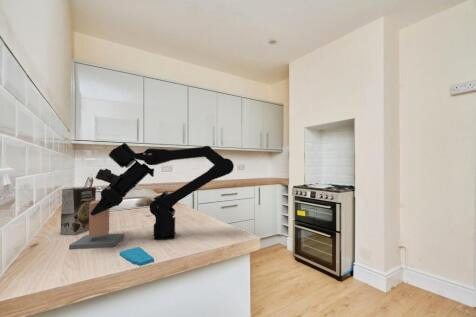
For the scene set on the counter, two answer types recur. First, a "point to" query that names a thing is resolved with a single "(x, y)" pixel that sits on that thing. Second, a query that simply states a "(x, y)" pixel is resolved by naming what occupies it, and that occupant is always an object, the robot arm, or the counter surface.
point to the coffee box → (76, 209)
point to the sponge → (137, 256)
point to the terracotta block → (98, 221)
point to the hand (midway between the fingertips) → (92, 213)
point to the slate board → (97, 241)
